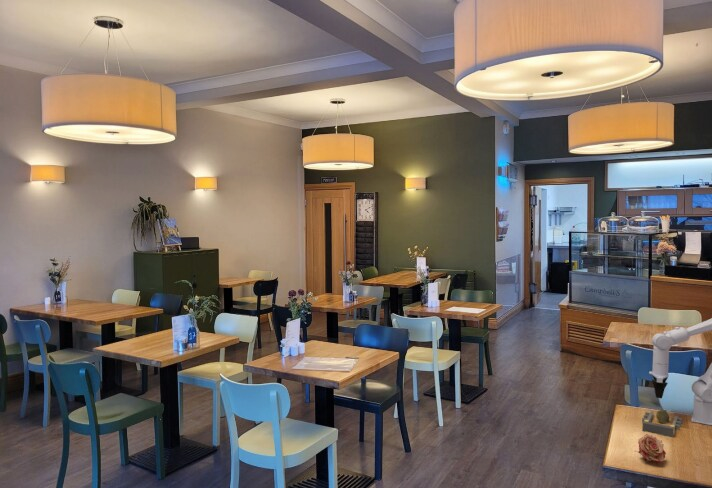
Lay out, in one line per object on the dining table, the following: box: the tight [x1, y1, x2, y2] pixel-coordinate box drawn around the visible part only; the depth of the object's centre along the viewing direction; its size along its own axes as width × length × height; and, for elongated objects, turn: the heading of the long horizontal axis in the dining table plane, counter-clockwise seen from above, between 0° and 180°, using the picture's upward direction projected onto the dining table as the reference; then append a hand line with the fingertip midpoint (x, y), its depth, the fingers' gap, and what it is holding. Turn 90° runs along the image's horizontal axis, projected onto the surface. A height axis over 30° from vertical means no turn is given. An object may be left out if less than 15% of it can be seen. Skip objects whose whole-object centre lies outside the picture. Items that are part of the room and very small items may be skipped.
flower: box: [634, 433, 667, 464], centre depth 187 cm, size 10×9×8 cm
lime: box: [655, 409, 671, 424], centre depth 220 cm, size 4×5×5 cm
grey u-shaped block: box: [641, 410, 683, 438], centre depth 217 cm, size 13×20×3 cm, turn 144°
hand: (659, 395), depth 224 cm, fingers open, 7 cm apart
